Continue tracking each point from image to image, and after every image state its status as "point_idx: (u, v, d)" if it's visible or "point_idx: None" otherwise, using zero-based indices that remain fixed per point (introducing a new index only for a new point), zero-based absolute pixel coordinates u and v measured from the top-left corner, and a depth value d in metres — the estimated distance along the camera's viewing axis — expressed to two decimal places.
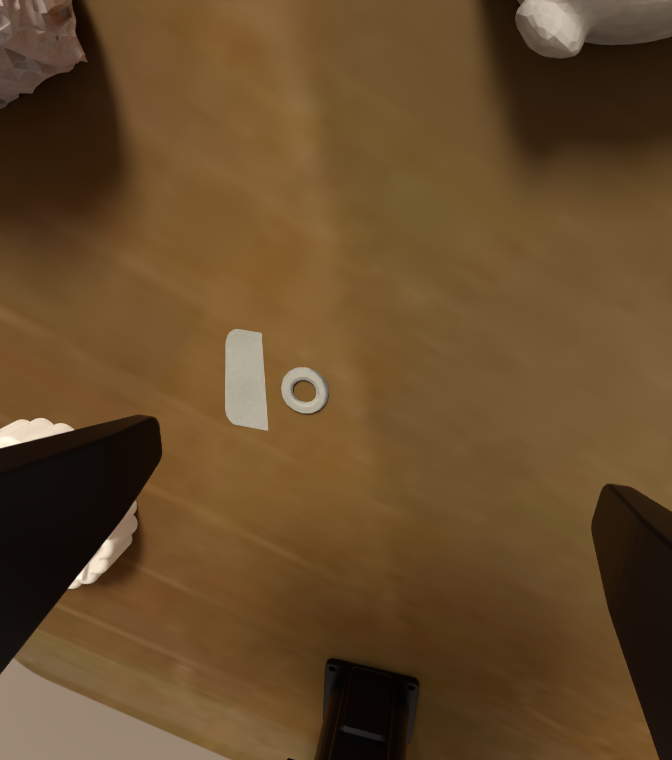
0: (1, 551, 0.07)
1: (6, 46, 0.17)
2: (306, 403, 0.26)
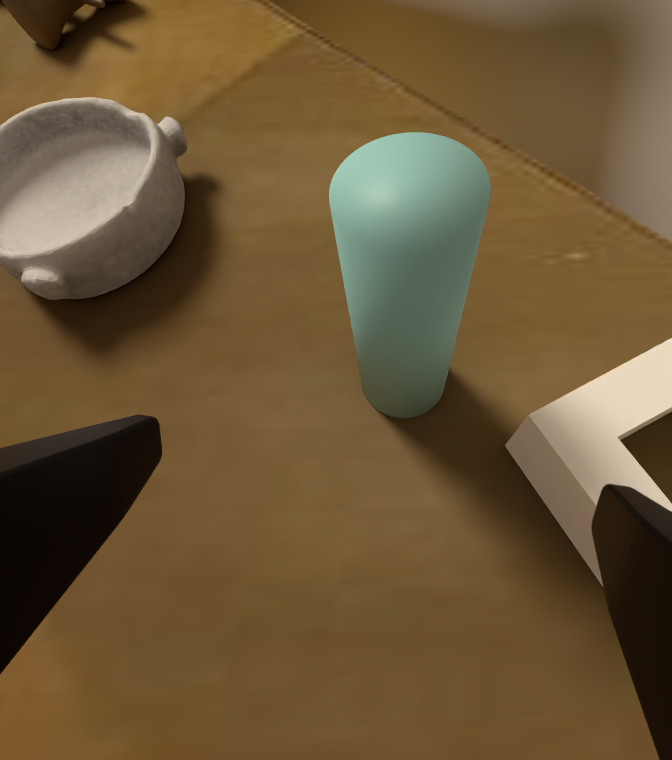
0: (1, 551, 0.07)
1: None
2: None
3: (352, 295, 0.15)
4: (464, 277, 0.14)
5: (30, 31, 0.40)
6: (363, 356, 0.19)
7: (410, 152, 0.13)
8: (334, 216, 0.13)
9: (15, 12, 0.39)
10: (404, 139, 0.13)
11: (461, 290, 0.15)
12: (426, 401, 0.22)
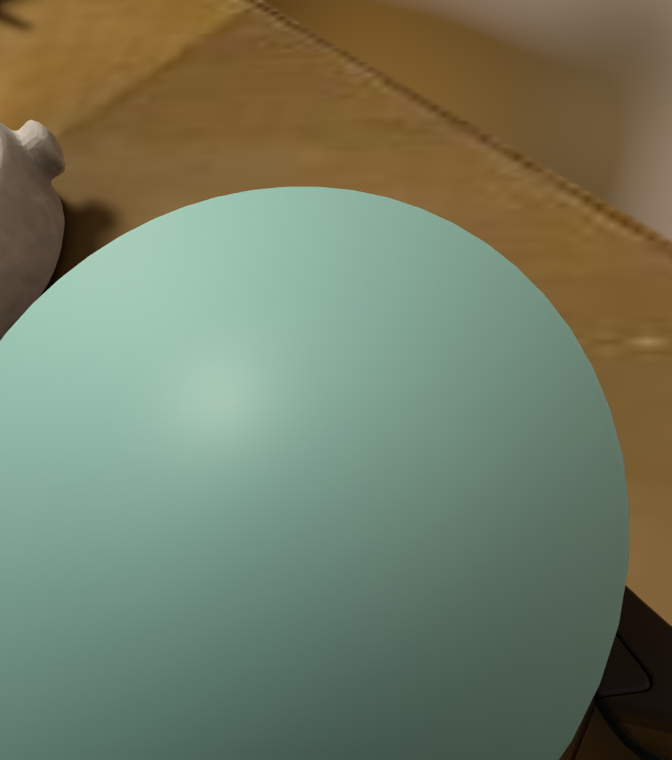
0: None
1: None
2: None
3: None
4: None
5: None
6: None
7: (283, 268, 0.03)
8: None
9: None
10: (269, 212, 0.04)
11: None
12: None
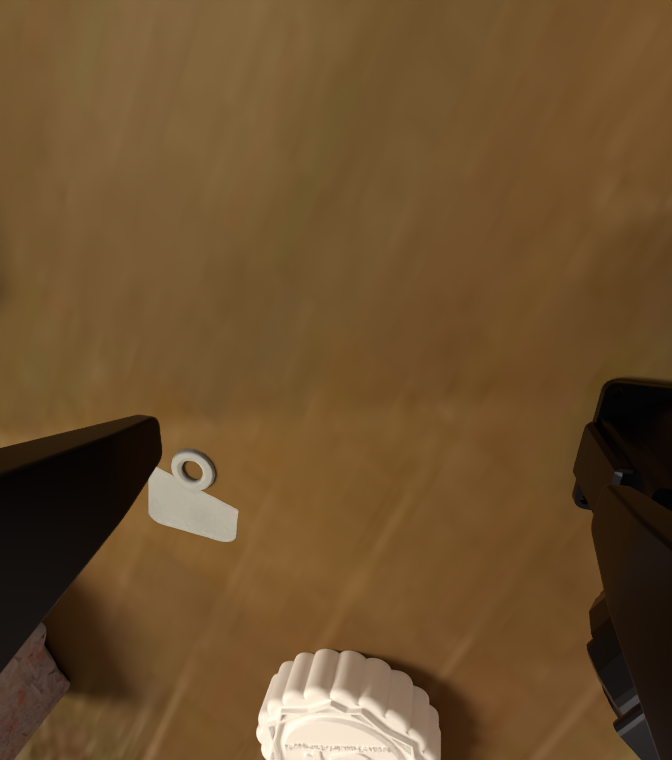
0: (1, 551, 0.07)
1: None
2: (203, 471, 0.27)
3: None
4: None
5: None
6: None
7: None
8: None
9: None
10: None
11: None
12: None
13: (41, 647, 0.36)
